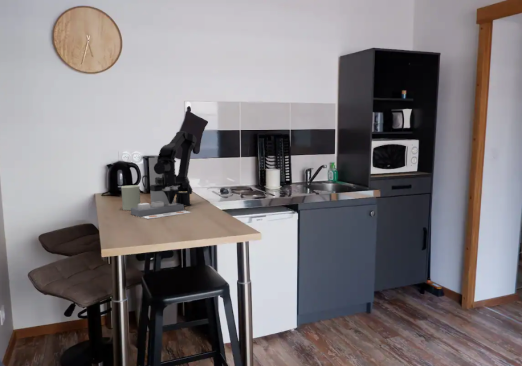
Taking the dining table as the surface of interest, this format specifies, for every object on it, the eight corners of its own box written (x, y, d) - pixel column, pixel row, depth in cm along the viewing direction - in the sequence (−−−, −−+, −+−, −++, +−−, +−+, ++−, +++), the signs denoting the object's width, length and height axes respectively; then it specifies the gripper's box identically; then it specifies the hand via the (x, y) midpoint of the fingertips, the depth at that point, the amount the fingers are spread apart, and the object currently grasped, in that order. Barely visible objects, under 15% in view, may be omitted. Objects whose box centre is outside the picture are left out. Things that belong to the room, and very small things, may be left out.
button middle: (159, 206, 218) (159, 201, 217) (163, 207, 214) (163, 202, 214) (151, 207, 215) (151, 202, 215) (155, 208, 211) (155, 203, 211)
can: (133, 210, 221) (132, 186, 220) (118, 209, 224) (117, 186, 223) (144, 207, 230) (143, 184, 229) (129, 206, 233) (128, 184, 232)
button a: (146, 207, 213) (146, 202, 213) (150, 208, 210) (150, 203, 210) (137, 208, 211) (137, 203, 210) (141, 210, 207) (141, 205, 207)
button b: (172, 207, 222) (172, 202, 222) (176, 208, 219) (176, 203, 218) (164, 208, 219) (164, 203, 219) (168, 209, 216) (168, 204, 216)
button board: (174, 208, 226) (174, 202, 226) (183, 210, 218) (183, 204, 218) (131, 214, 212) (130, 207, 211) (139, 217, 204) (139, 210, 203)
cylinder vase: (171, 205, 235) (169, 158, 232) (148, 205, 235) (145, 158, 232) (176, 201, 247) (174, 156, 244) (154, 201, 248) (152, 157, 245)
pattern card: (184, 211, 217) (184, 210, 217) (190, 212, 212) (190, 211, 212) (142, 217, 203) (142, 216, 203) (147, 219, 198) (147, 218, 198)
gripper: (178, 170, 229) (179, 199, 231) (144, 172, 217) (146, 204, 219) (189, 171, 220) (190, 202, 222) (154, 174, 209) (155, 206, 211)
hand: (170, 203), depth 219 cm, fingers closed, pressing on button b
